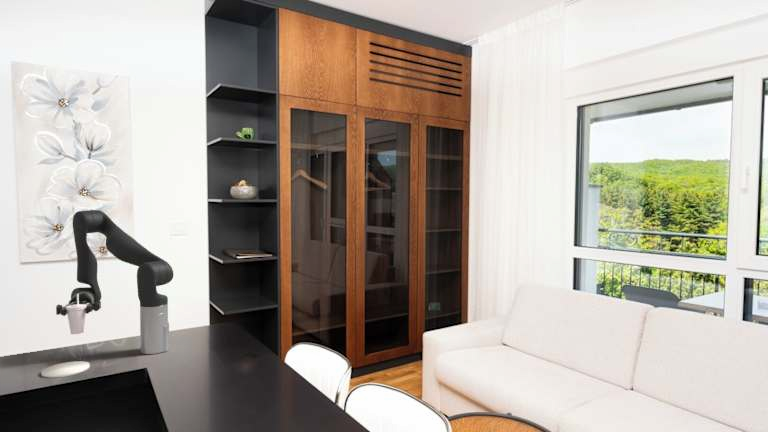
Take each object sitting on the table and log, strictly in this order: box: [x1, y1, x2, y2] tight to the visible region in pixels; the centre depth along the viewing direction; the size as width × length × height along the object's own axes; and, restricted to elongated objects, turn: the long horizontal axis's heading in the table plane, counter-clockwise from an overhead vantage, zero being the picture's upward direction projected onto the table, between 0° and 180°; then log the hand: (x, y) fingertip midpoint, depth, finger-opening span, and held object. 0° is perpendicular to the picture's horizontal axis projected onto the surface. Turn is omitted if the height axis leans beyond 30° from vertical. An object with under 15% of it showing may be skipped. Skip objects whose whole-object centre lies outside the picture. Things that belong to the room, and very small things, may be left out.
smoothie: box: [66, 294, 87, 335], centre depth 162 cm, size 6×6×14 cm
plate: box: [40, 360, 91, 379], centre depth 149 cm, size 13×13×1 cm
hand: (75, 311), depth 160 cm, fingers closed on smoothie, 6 cm apart
